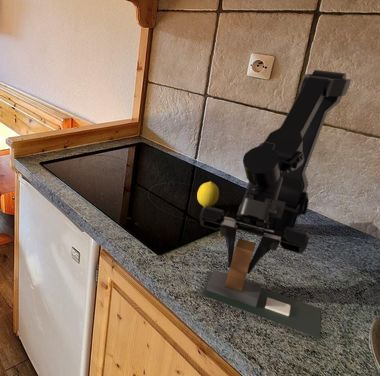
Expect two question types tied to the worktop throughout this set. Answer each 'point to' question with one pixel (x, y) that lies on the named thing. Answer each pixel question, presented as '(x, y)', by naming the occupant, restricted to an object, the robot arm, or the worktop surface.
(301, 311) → the board
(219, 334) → the worktop surface
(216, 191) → the lemon
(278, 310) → the pale pink flat block
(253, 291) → the duster
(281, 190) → the robot arm
